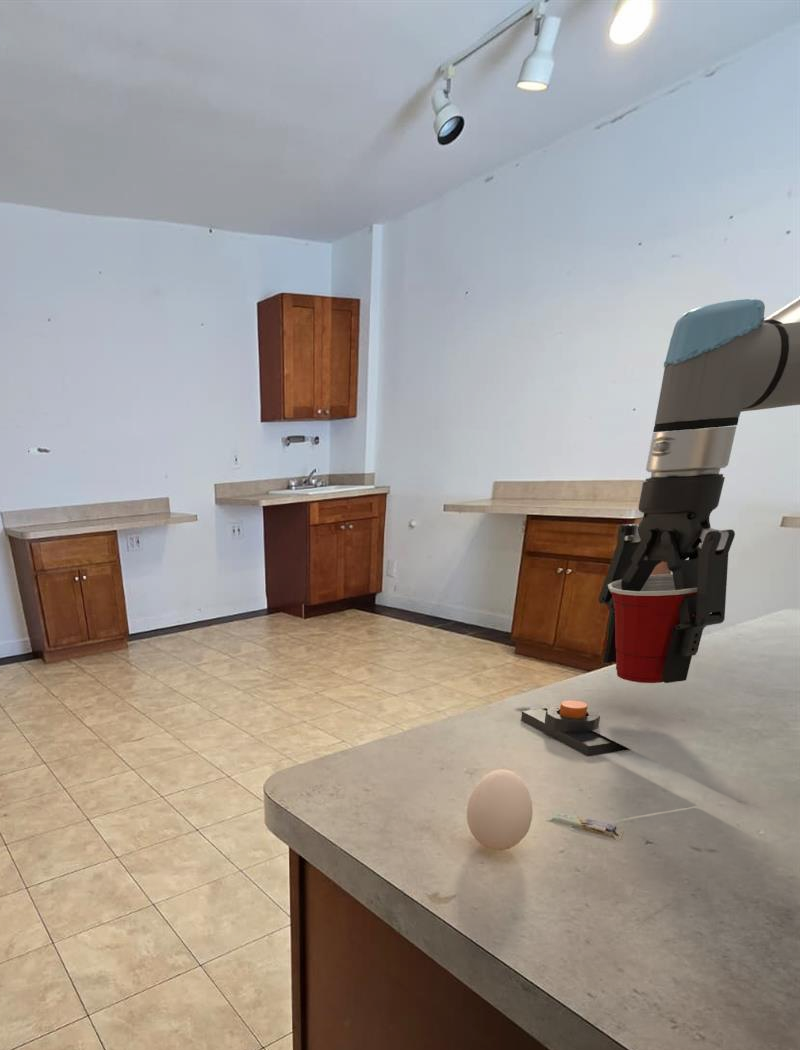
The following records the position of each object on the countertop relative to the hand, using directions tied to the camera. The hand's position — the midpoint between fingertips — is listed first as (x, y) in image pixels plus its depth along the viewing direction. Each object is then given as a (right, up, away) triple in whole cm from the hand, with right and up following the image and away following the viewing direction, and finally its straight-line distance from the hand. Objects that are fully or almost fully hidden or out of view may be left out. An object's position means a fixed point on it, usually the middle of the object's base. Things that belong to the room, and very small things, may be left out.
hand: (642, 670), depth 80 cm
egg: (-27, -20, -20) cm, 39 cm away
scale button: (-8, -6, +1) cm, 10 cm away
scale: (-2, -7, +3) cm, 8 cm away
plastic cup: (0, -1, 0) cm, 1 cm away
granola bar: (-18, -19, -18) cm, 31 cm away
